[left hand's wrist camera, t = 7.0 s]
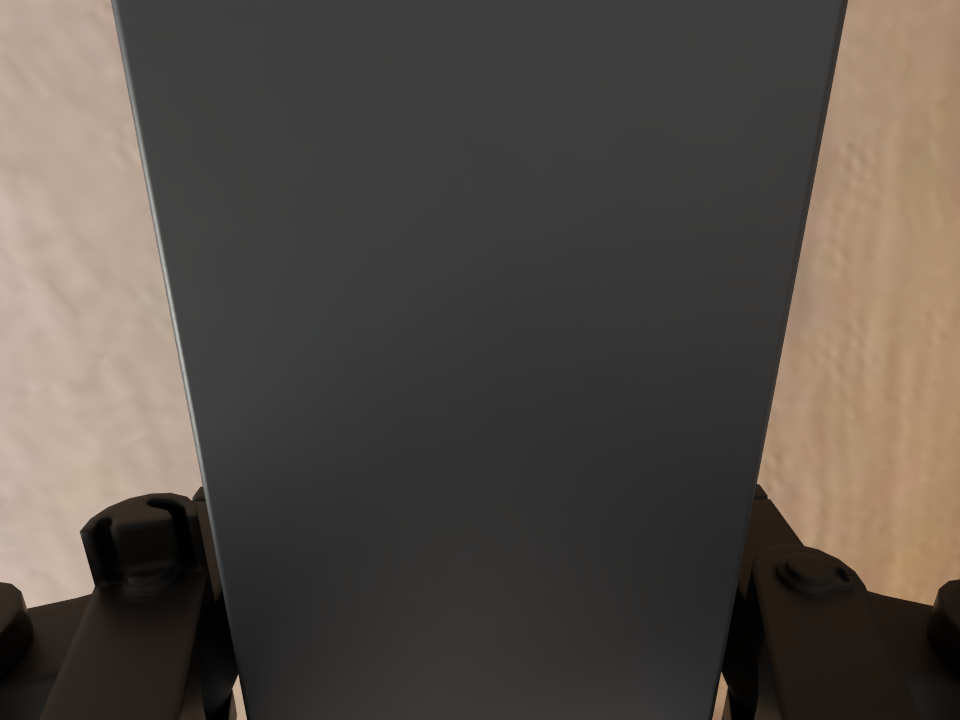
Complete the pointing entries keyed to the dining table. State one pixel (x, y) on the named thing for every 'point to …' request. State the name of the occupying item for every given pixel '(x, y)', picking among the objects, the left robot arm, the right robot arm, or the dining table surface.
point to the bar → (479, 332)
